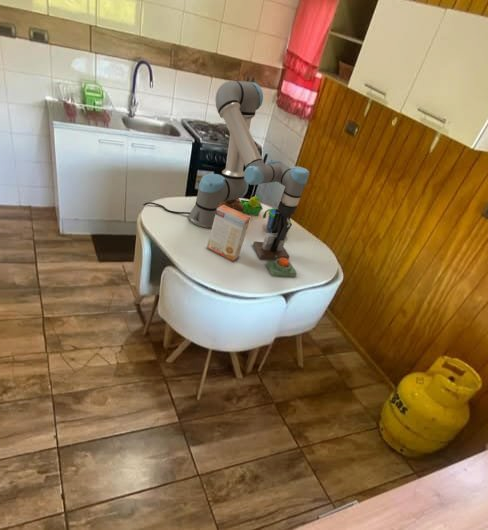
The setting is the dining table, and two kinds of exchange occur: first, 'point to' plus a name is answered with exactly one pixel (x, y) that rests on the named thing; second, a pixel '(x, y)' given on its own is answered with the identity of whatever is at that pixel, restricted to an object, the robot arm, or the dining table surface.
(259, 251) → the brown flat block
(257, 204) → the fruit basket
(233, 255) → the cracker box
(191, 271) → the dining table surface
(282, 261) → the button
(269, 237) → the tap lever
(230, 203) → the bread
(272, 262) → the button housing
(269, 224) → the snack cup
